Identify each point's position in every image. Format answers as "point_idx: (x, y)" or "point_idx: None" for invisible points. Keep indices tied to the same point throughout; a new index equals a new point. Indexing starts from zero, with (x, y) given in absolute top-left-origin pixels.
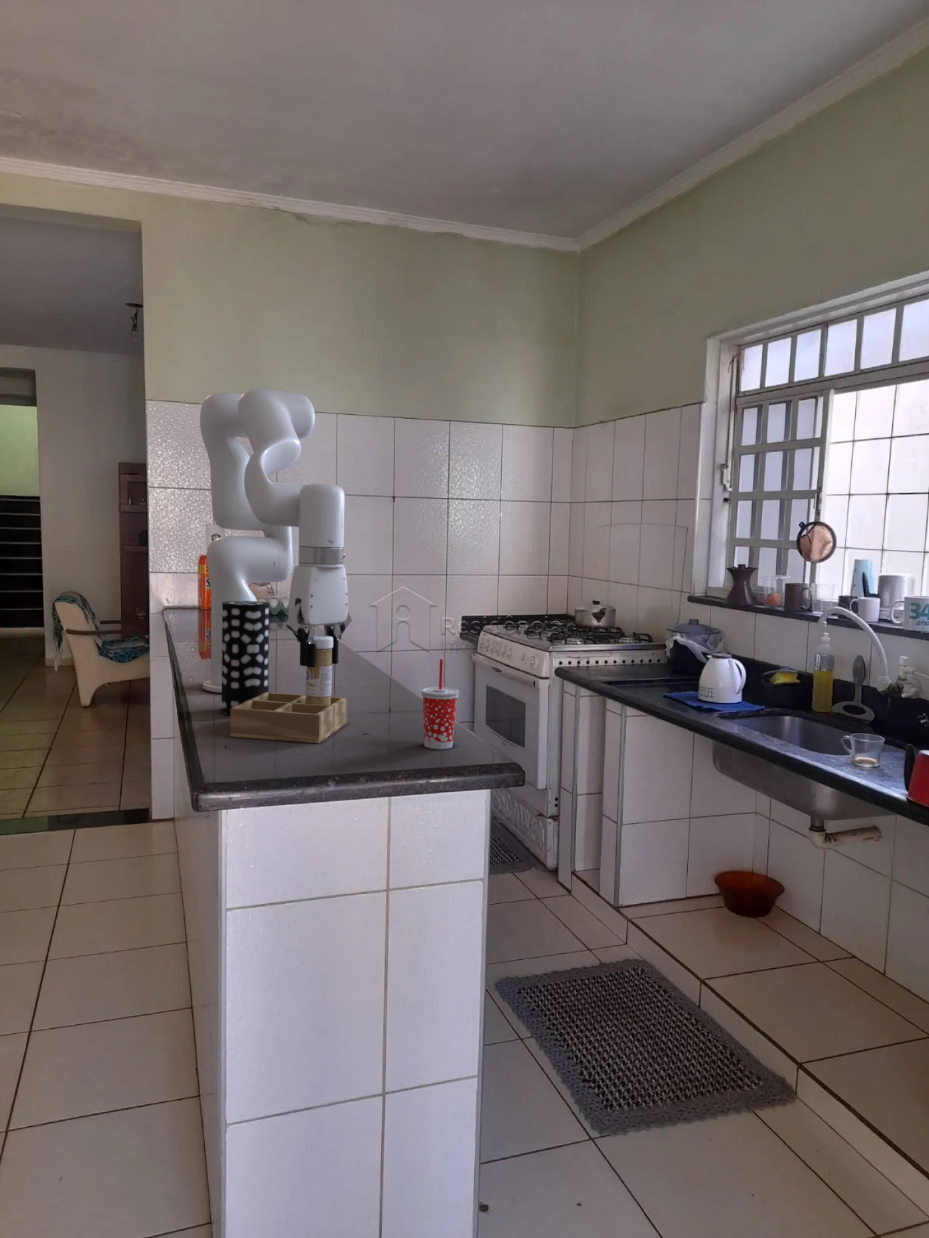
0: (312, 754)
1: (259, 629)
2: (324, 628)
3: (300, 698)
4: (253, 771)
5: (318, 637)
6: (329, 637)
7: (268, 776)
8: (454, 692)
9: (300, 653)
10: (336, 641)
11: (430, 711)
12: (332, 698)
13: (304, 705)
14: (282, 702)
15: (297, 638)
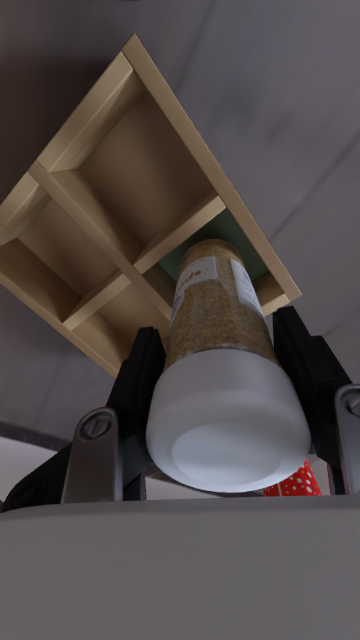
0: (106, 390)
1: None
2: (344, 464)
3: (184, 235)
4: (14, 404)
5: (190, 476)
6: (255, 486)
7: (26, 423)
8: None
9: (117, 379)
10: (310, 453)
11: (264, 496)
12: (271, 271)
13: (154, 303)
14: (112, 257)
15: (68, 448)
